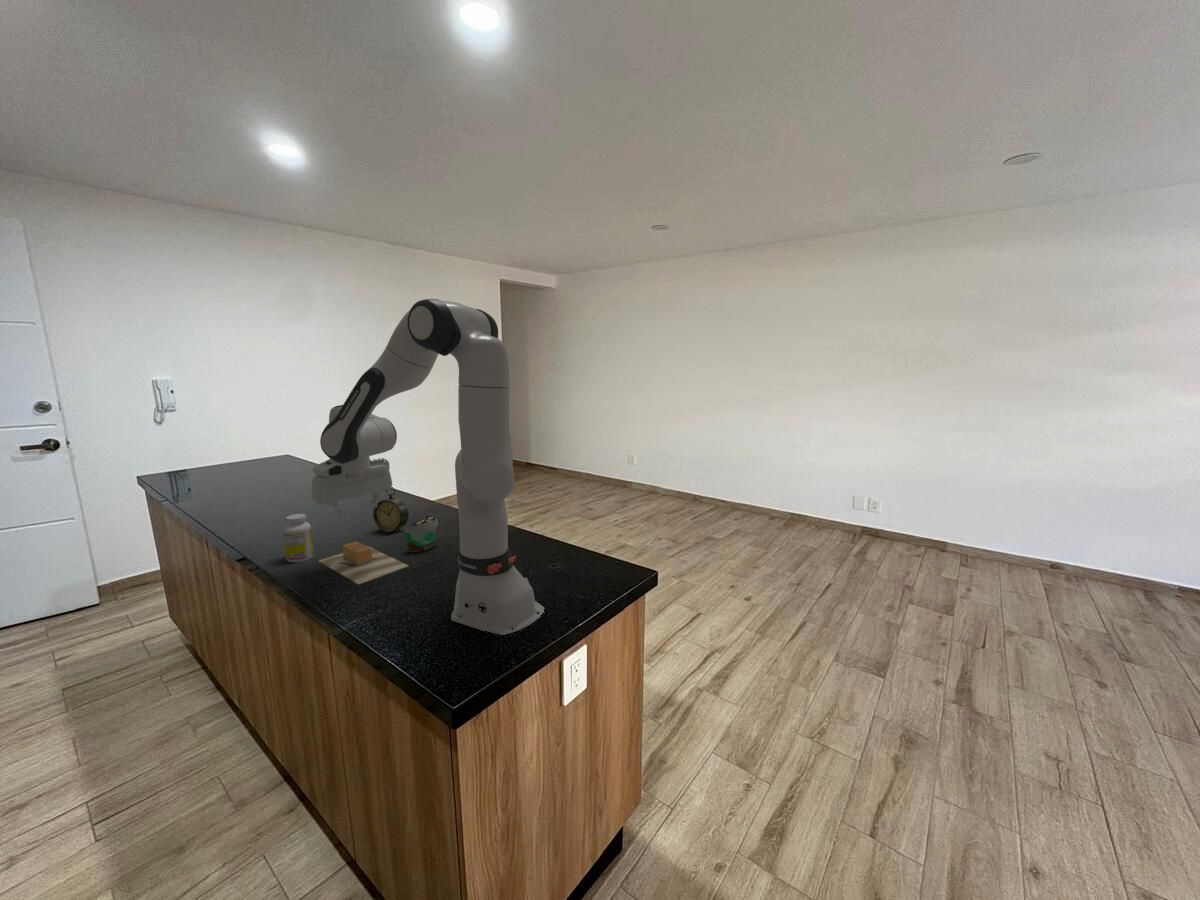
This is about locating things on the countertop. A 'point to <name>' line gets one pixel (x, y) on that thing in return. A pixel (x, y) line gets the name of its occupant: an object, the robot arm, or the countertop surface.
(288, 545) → the supplement bottle
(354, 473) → the robot arm
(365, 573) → the birch board
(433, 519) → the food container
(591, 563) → the countertop surface
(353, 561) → the block
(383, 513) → the alarm clock
